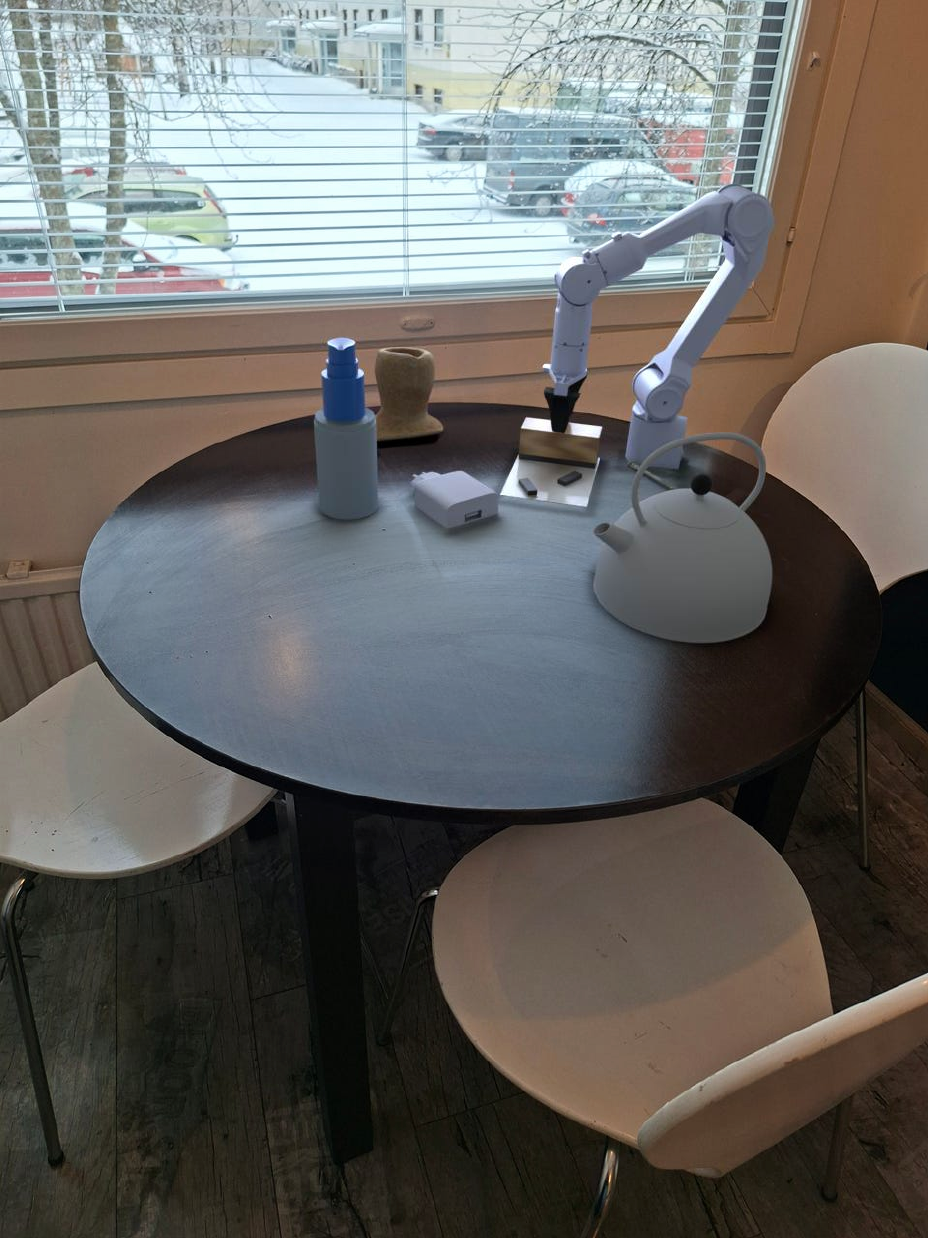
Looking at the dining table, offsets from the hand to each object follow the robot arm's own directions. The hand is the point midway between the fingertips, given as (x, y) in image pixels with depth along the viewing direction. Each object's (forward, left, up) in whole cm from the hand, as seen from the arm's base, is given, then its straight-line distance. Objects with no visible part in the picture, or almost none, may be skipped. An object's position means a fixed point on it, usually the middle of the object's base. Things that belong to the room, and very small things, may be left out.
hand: (561, 423), depth 145 cm
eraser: (0, 0, -6) cm, 6 cm away
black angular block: (-3, +8, -6) cm, 11 cm away
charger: (+14, +21, -7) cm, 27 cm away
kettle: (-21, +36, -7) cm, 42 cm away
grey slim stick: (-20, +7, -7) cm, 22 cm away
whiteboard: (0, +7, -7) cm, 10 cm away
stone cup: (+29, -4, -7) cm, 31 cm away
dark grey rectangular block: (+3, +13, -6) cm, 15 cm away
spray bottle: (+28, +25, -7) cm, 39 cm away
